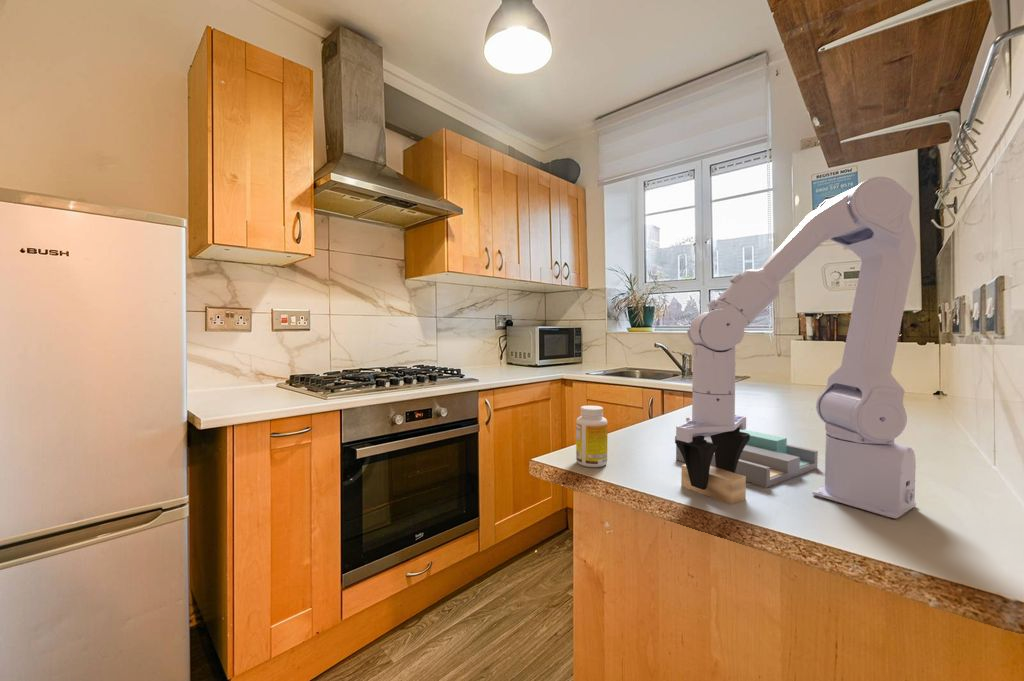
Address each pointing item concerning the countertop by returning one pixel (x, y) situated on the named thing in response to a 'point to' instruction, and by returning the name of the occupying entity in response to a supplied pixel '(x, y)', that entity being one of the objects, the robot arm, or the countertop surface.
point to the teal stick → (767, 441)
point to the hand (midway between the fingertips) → (712, 482)
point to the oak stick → (720, 485)
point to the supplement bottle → (591, 437)
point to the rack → (769, 463)
